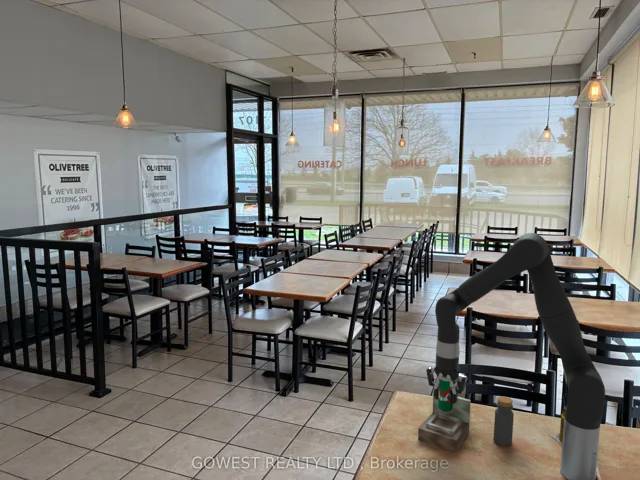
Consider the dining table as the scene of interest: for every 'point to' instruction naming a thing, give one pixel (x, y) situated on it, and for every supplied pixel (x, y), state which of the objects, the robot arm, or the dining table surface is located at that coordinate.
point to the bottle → (503, 421)
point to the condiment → (560, 436)
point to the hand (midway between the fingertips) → (445, 400)
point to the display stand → (447, 425)
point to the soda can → (445, 395)
